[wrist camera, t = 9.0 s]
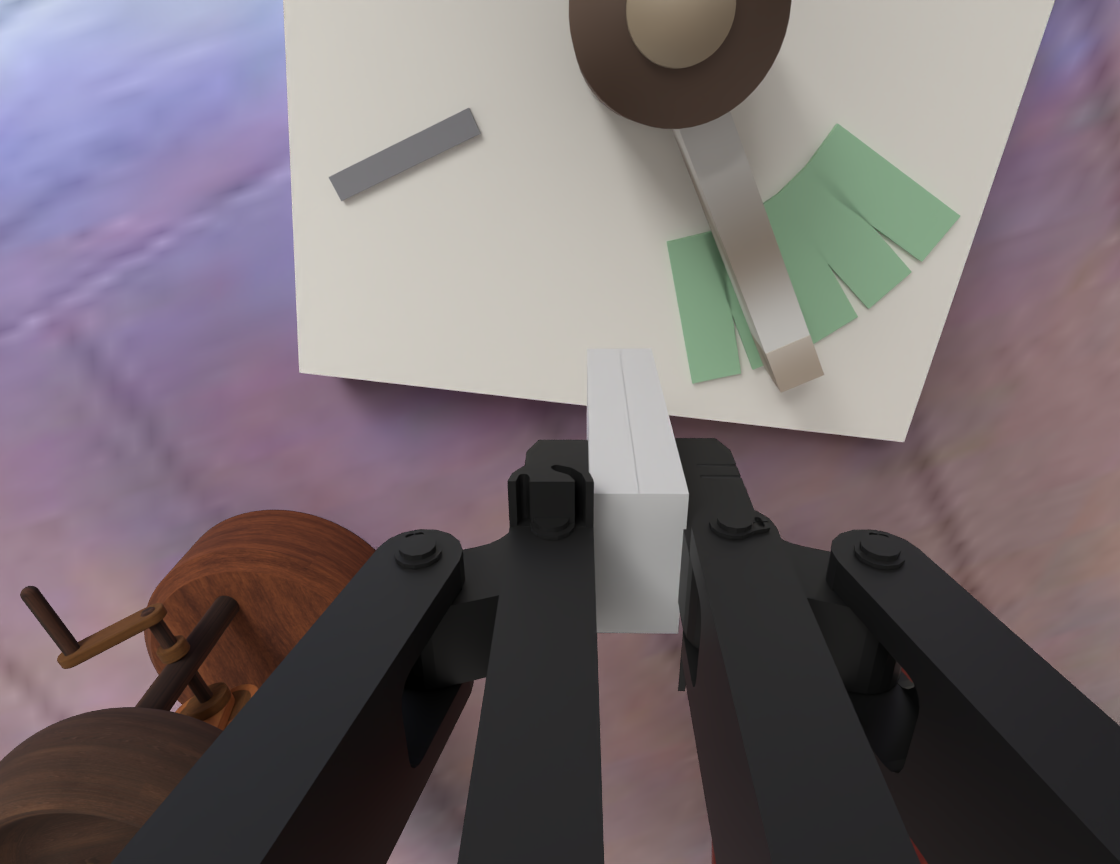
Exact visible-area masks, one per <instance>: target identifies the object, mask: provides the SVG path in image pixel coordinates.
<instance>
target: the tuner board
mask: <svg viewBox="0 0 1120 864" xmlns="http://www.w3.org/2000/svg"><path fill="white" fill-rule="evenodd" d="M1054 2H1055V0H791V9H790V18H789V22H788V26H787V31H786V35H785V37H784V40H783V43H782V46H781V49H780V51H779V53H778V55H777V57H776V59H775V61H774V63H773V65H772V67H771V68H770V70H769V72H768V73H767V75H766V76H765V78H764V79H763V80H762V82H761V83H760V84H759V85H758V87H757V88H756V89H755V90H754V91H753V92H752V93H751V94H750V95H749V96H748V97H747V98H746V99H745V100H744V101H743V102H742V103H740V104H739V105H738V106H736V107H735V108H734V109H733V110H731V111H730V112H731V115H732V118H733V121H734V123H735V126H736V129H737V132H738V135H739V137H740V140H741V143H742V146H743V149H744V151H745V154H746V157H747V160H748V163H749V165H750V168H751V171H752V174H753V177H754V180H755V182H756V185H757V188H758V191H759V194H760V196H761V199H762V202H763V205H764V208H765V210H766V213H767V216H768V219H769V222H770V224H771V227H772V230H773V233H774V236H775V238H776V241H777V244H778V247H779V250H780V252H781V255H782V258H783V261H784V264H785V267H786V269H787V272H788V275H789V278H790V281H791V283H792V286H793V289H794V292H795V295H796V297H797V300H798V303H799V306H800V309H801V311H802V314H803V317H804V320H805V323H806V325H807V328H808V331H809V334H810V336H811V339H812V342H813V344H814V347H815V350H816V353H817V356H818V358H819V361H820V364H821V367H822V370H823V372H824V375H823V376H821V377H818V378H816V379H813V380H811V381H808V382H806V383H804V384H801V385H799V386H796V387H794V388H791V389H789V390H786V391H784V392H782V393H781V392H780V391H779V389H778V388H777V386H776V385H775V383H774V382H773V380H772V379H771V377H770V376H769V374H768V373H767V371H766V370H765V368H764V366H763V363H762V360H761V358H760V355H759V353H758V350H757V348H756V345H755V343H754V340H753V337H752V335H751V332H750V329H749V327H748V324H747V322H746V319H745V316H744V314H743V311H742V309H741V306H740V304H739V301H738V298H737V296H736V293H735V291H734V288H733V286H732V283H731V280H730V278H729V275H728V273H727V270H726V268H725V265H724V263H723V260H722V257H721V255H720V252H719V250H718V247H717V245H716V242H715V239H714V237H713V234H712V232H711V229H710V227H709V224H708V221H707V219H706V216H705V214H704V211H703V209H702V206H701V203H700V201H699V198H698V196H697V193H696V191H695V188H694V185H693V183H692V180H691V178H690V175H689V173H688V170H687V167H686V165H685V162H684V160H683V157H682V155H681V152H680V149H679V147H678V144H677V142H676V139H675V137H674V134H673V131H672V129H662V128H655V127H650V126H647V125H643V124H640V123H637V122H634V121H632V120H629V119H626V118H624V117H622V116H620V115H618V114H616V113H615V112H613V111H612V110H610V109H609V108H607V107H606V106H605V105H604V104H603V103H602V102H601V101H600V100H599V99H598V98H597V97H596V96H595V95H594V94H593V92H592V91H591V89H590V88H589V86H588V85H587V83H586V81H585V79H584V77H583V75H582V73H581V71H580V68H579V65H578V63H577V59H576V55H575V51H574V47H573V43H572V38H571V34H570V25H569V0H283V6H284V29H285V53H286V76H287V99H288V122H289V145H290V168H291V191H292V215H293V238H294V261H295V284H296V307H297V330H298V353H299V373H307V374H316V375H324V376H333V377H342V378H350V379H359V380H368V381H376V382H385V383H394V384H402V385H411V386H420V387H428V388H437V389H446V390H455V391H463V392H472V393H481V394H489V395H498V396H507V397H515V398H524V399H533V400H541V401H550V402H559V403H567V404H576V405H585V406H587V349H631V348H651V349H652V353H653V357H654V361H655V364H656V368H657V372H658V376H659V380H660V384H661V388H662V391H663V395H664V399H665V403H666V407H667V411H668V415H672V416H680V417H689V418H698V419H706V420H715V421H724V422H732V423H741V424H750V425H758V426H767V427H776V428H784V429H793V430H802V431H811V432H819V433H828V434H837V435H845V436H854V437H863V438H871V439H880V440H889V441H897V442H904V441H905V438H906V435H907V432H908V429H909V426H910V423H911V420H912V418H913V415H914V412H915V409H916V406H917V403H918V400H919V397H920V394H921V391H922V388H923V385H924V382H925V379H926V377H927V374H928V371H929V368H930V365H931V362H932V359H933V356H934V353H935V350H936V347H937V344H938V341H939V339H940V336H941V333H942V330H943V327H944V324H945V321H946V318H947V315H948V312H949V309H950V306H951V303H952V300H953V298H954V295H955V292H956V289H957V286H958V283H959V280H960V277H961V274H962V271H963V268H964V265H965V262H966V259H967V257H968V254H969V251H970V248H971V245H972V242H973V239H974V236H975V233H976V230H977V227H978V224H979V221H980V219H981V216H982V213H983V210H984V207H985V204H986V201H987V198H988V195H989V192H990V189H991V186H992V183H993V180H994V178H995V175H996V172H997V169H998V166H999V163H1000V160H1001V157H1002V154H1003V151H1004V148H1005V145H1006V142H1007V139H1008V137H1009V134H1010V131H1011V128H1012V125H1013V122H1014V119H1015V116H1016V113H1017V110H1018V107H1019V104H1020V101H1021V98H1022V96H1023V93H1024V90H1025V87H1026V84H1027V81H1028V78H1029V75H1030V72H1031V69H1032V66H1033V63H1034V60H1035V58H1036V55H1037V52H1038V49H1039V46H1040V43H1041V40H1042V37H1043V34H1044V31H1045V28H1046V25H1047V22H1048V19H1049V17H1050V14H1051V11H1052V8H1053V5H1054Z"/></svg>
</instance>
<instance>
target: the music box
mask: <svg viewBox="0 0 1120 864" xmlns="http://www.w3.org/2000/svg"><path fill="white" fill-rule="evenodd" d="M374 552H375V550H374V549H373V548H372V547H371V546H370V545H369V544H367V543H366V542H365V541H364V540H362V539H361V538H360V537H358V536H357V535H355V534H354V533H352V532H350V531H349V530H347V529H345V528H343V527H341V526H339V525H337V524H335V523H333V522H331V521H328V520H326V519H323V518H320V517H317V516H313V515H310V514H305V513H301V512H295V511H287V510H262V511H254V512H249V513H244V514H241V515H237V516H234V517H232V518H229V519H227V520H225V521H223V522H221V523H219V524H217V525H216V526H214V527H212V528H211V529H210V530H208V531H207V532H206V533H205V534H204V535H203V536H202V537H201V538H200V539H199V540H198V541H197V542H196V543H195V544H194V545H193V546H192V547H191V549H190V550H189V551H188V552H187V553H186V554H185V555H184V556H183V558H182V559H181V560H180V561H179V562H178V563H177V564H176V565H175V566H174V568H173V569H172V570H171V571H170V572H169V573H168V574H167V575H166V577H165V578H164V579H163V580H162V581H161V582H160V583H159V585H158V586H157V587H156V589H155V591H154V592H153V594H152V596H151V598H150V600H149V603H148V606H147V607H146V608H144V609H142V610H140V611H138V612H136V613H134V614H132V615H130V616H128V617H126V618H124V619H122V620H120V621H119V622H117V623H115V624H113V625H111V626H109V627H107V628H105V629H103V630H101V631H99V632H97V633H95V634H93V635H91V636H89V637H87V638H85V639H83V640H81V641H79V642H77V641H76V640H75V638H74V637H73V635H72V634H71V633H70V631H69V630H68V629H67V627H66V626H65V625H64V623H63V622H62V621H61V619H60V618H59V617H58V615H57V614H56V613H55V611H54V610H53V608H52V607H51V606H50V604H49V603H48V602H47V600H46V599H45V598H44V596H43V595H42V594H41V592H40V591H39V590H38V588H36V587H34V586H28V587H25V588H24V589H23V590H22V591H21V594H20V596H21V598H22V600H23V601H24V602H25V604H26V605H27V606H28V608H29V609H30V610H31V612H32V613H33V614H34V616H35V617H36V618H37V620H38V621H39V622H40V624H41V625H42V626H43V628H44V629H45V630H46V631H47V633H48V634H49V635H50V637H51V638H52V639H53V641H54V642H55V643H56V645H57V646H58V647H59V649H60V650H61V651H62V653H61V654H60V655H59V656H58V658H57V661H58V663H59V664H60V665H61V667H62V668H64V669H68V668H72V667H74V666H76V665H78V664H80V663H82V662H84V661H86V660H88V659H90V658H92V657H94V656H96V655H98V654H100V653H102V652H103V651H105V650H107V649H109V648H111V647H113V646H115V645H117V644H119V643H121V642H123V641H125V640H127V639H129V638H131V637H132V636H134V635H136V634H138V633H140V632H142V631H144V635H145V642H146V647H147V650H148V653H149V656H150V659H151V661H152V663H153V665H154V667H155V669H156V671H157V673H158V674H159V676H158V677H157V678H156V680H155V681H154V682H153V684H152V685H151V686H150V688H149V689H148V690H147V692H146V693H145V694H144V696H143V697H142V698H141V700H140V701H139V702H138V704H137V705H136V706H135V707H123V708H110V709H102V710H97V711H91V712H87V713H83V714H80V715H76V716H73V717H70V718H67V719H64V720H62V721H59V722H57V723H55V724H53V725H50V726H48V727H46V728H45V729H43V730H41V731H39V732H37V733H36V734H34V735H32V736H31V737H29V738H28V739H26V740H25V741H23V742H22V743H21V744H20V745H18V746H17V747H16V748H14V749H13V750H12V751H11V752H10V753H9V754H8V755H7V756H5V757H4V758H3V759H2V760H1V761H0V864H111V863H112V862H113V860H114V859H115V858H116V857H117V856H118V854H119V853H120V852H121V851H122V850H123V849H124V847H125V846H126V845H127V844H128V843H129V841H130V840H131V839H132V838H133V837H134V836H135V834H136V833H137V832H138V831H139V830H140V828H141V827H142V826H143V825H144V824H145V823H146V821H147V820H148V819H149V818H150V817H151V815H152V814H153V813H154V812H155V811H156V810H157V808H158V807H159V806H160V805H161V804H162V802H163V801H164V800H165V799H166V798H167V797H168V795H169V794H170V793H171V792H172V791H173V789H174V788H175V787H176V786H177V785H178V784H179V782H180V781H181V780H182V779H183V778H184V777H185V775H186V774H187V773H188V772H189V771H190V769H191V768H192V767H193V766H194V765H195V764H196V762H197V761H198V760H199V759H200V758H201V756H202V755H203V754H204V753H205V752H206V751H207V749H208V748H209V747H210V746H211V745H212V743H213V742H214V741H215V740H216V739H217V738H218V736H219V735H220V734H221V733H222V732H223V730H224V729H225V728H226V727H227V726H228V725H229V723H230V722H231V721H232V720H233V719H234V717H235V716H236V715H237V714H238V713H239V712H240V710H241V709H242V708H243V707H244V706H245V704H246V703H247V702H248V701H249V700H250V699H251V697H252V696H253V695H254V694H255V693H256V691H257V690H258V689H259V688H260V687H261V686H262V684H263V683H264V682H265V681H266V680H267V678H268V677H269V676H270V675H271V674H272V673H273V671H274V670H275V669H276V668H277V667H278V666H279V664H280V663H281V662H282V661H283V660H284V658H285V657H286V656H287V655H288V654H289V653H290V651H291V650H292V649H293V648H294V647H295V645H296V644H297V643H298V642H299V641H300V640H301V638H302V637H303V636H304V635H305V634H306V632H307V631H308V630H309V629H310V628H311V627H312V625H313V624H314V623H315V622H316V621H317V619H318V618H319V617H320V616H321V615H322V614H323V612H324V611H325V610H326V609H327V608H328V606H329V605H330V604H331V603H332V602H333V601H334V599H335V598H336V597H337V596H338V595H339V593H340V592H341V591H342V590H343V589H344V588H345V586H346V585H347V584H348V583H349V582H350V580H351V579H352V578H353V577H354V576H355V575H356V573H357V572H358V571H359V570H360V569H361V567H362V566H363V565H364V564H365V563H366V562H367V560H368V559H369V558H370V557H371V556H372V555H373V553H374ZM177 700H178V701H179V702H180V703H181V704H182V705H181V706H180V707H179V708H178V709H177V711H176V712H171V711H170V710H171V708H172V707H173V705H174V704H175V702H176V701H177Z"/></svg>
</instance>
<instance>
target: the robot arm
mask: <svg viewBox="0 0 1120 864" xmlns="http://www.w3.org/2000/svg"><path fill="white" fill-rule="evenodd" d="M508 500H509V520H510V529H509V533H508V534H506V535H505V536H504V537H502V538H501V539H499V540H497V541H494V542H492V543H490V544H486V545H483V546H479V547H475V548H470V549H465V550H462V547H461V544H460V541H459V540H457V539H456V538H455V537H454V536H452V535H451V534H449V533H445V532H442V531H439V530H424V529H420V530H414V531H408V532H404V533H401V534H399V535H397V536H394V537H392V538H390V539H388V540H387V541H386V542H385V543H383V544H382V545H381V546H380V547H378V549H377V550H376V551H375V552H374V553H373V555H372V556H371V557H370V558H369V559H368V560H367V562H366V563H365V564H364V565H363V566H362V567H361V569H360V570H359V571H358V572H357V573H356V575H355V576H354V577H353V578H352V579H351V580H350V582H349V583H348V584H347V585H346V586H345V588H344V589H343V590H342V591H341V592H340V593H339V595H338V596H337V597H336V598H335V599H334V601H333V602H332V603H331V604H330V605H329V606H328V608H327V609H326V610H325V611H324V612H323V614H322V615H321V616H320V617H319V618H318V619H317V621H316V622H315V623H314V624H313V625H312V627H311V628H310V629H309V630H308V631H307V632H306V634H305V635H304V636H303V637H302V638H301V640H300V641H299V642H298V643H297V644H296V645H295V647H294V648H293V649H292V650H291V651H290V653H289V654H288V655H287V656H286V657H285V658H284V660H283V661H282V662H281V663H280V664H279V666H278V667H277V668H276V669H275V670H274V671H273V673H272V674H271V675H270V676H269V677H268V678H267V680H266V681H265V682H264V683H263V684H262V686H261V687H260V688H259V689H258V690H257V691H256V693H255V694H254V695H253V696H252V697H251V699H250V700H249V701H248V702H247V703H246V704H245V706H244V707H243V708H242V709H241V710H240V712H239V713H238V714H237V715H236V716H235V717H234V719H233V720H232V721H231V722H230V723H229V725H228V726H227V727H226V728H225V729H224V730H223V732H222V733H221V734H220V735H219V736H218V738H217V739H216V740H215V741H214V742H213V743H212V745H211V746H210V747H209V748H208V749H207V751H206V752H205V753H204V754H203V755H202V756H201V758H200V759H199V760H198V761H197V762H196V764H195V765H194V766H193V767H192V768H191V769H190V771H189V772H188V773H187V774H186V775H185V777H184V778H183V779H182V780H181V781H180V782H179V784H178V785H177V786H176V787H175V788H174V789H173V791H172V792H171V793H170V794H169V795H168V797H167V798H166V799H165V800H164V801H163V802H162V804H161V805H160V806H159V807H158V808H157V810H156V811H155V812H154V813H153V814H152V815H151V817H150V818H149V819H148V820H147V821H146V823H145V824H144V825H143V826H142V827H141V828H140V830H139V831H138V832H137V833H136V834H135V836H134V837H133V838H132V839H131V840H130V841H129V843H128V844H127V845H126V846H125V847H124V849H123V850H122V851H121V852H120V853H119V854H118V856H117V857H116V858H115V859H114V860H113V862H112V863H111V864H386V863H387V861H388V859H389V857H390V855H391V853H392V851H393V849H394V847H395V845H396V843H397V841H398V839H399V837H400V835H401V833H402V831H403V829H404V827H405V825H406V823H407V821H408V819H409V817H410V815H411V813H412V811H413V809H414V807H415V805H416V803H417V801H418V799H419V797H420V795H421V793H422V791H423V789H424V787H425V785H426V783H427V781H428V779H429V777H430V775H431V773H432V771H433V768H434V766H435V764H436V762H437V760H438V758H439V756H440V754H441V752H442V750H443V748H444V746H445V744H446V742H447V740H448V738H449V736H450V734H451V732H452V730H453V728H454V726H455V724H456V722H457V720H458V718H459V716H460V714H461V712H462V710H463V708H464V706H465V704H466V702H467V700H468V698H469V696H470V694H471V691H472V687H473V683H474V680H477V679H481V678H485V677H486V684H485V690H484V696H483V703H482V709H481V716H480V722H479V729H478V735H477V742H476V748H475V754H474V761H473V767H472V774H471V780H470V787H469V793H468V800H467V806H466V812H465V819H464V825H463V832H462V838H461V845H460V851H459V858H458V864H604V844H603V812H602V780H601V749H600V717H599V685H598V654H597V633H665V634H678V628H679V616H681V621H682V626H683V638H682V650H681V662H680V675H679V687H678V691H685V688H687V694H688V700H689V706H690V711H691V717H692V723H693V729H694V735H695V741H696V747H697V753H698V759H699V765H700V771H701V777H702V783H703V789H704V795H705V800H706V806H707V812H708V818H709V824H710V830H711V836H712V842H713V848H714V854H715V860H716V864H921V863H920V861H919V858H918V856H917V854H916V851H915V849H914V847H913V844H912V842H911V840H912V841H913V843H914V844H915V845H916V847H917V848H918V850H919V851H920V853H921V854H922V856H923V857H924V858H925V860H926V861H927V863H928V864H1120V726H1119V725H1118V724H1117V723H1116V722H1114V721H1113V720H1112V719H1111V718H1110V717H1109V716H1108V715H1106V714H1105V713H1104V712H1103V711H1102V710H1101V709H1100V708H1099V707H1097V706H1096V705H1095V704H1094V703H1093V702H1092V701H1091V700H1090V699H1088V698H1087V697H1086V696H1085V695H1084V694H1083V693H1082V692H1080V691H1079V690H1078V689H1077V688H1076V687H1075V686H1074V685H1073V684H1071V683H1070V682H1069V681H1068V680H1067V679H1066V678H1065V677H1063V676H1062V675H1061V674H1060V673H1059V672H1058V671H1057V670H1056V669H1054V668H1053V667H1052V666H1051V665H1050V664H1049V663H1048V662H1046V661H1045V660H1044V659H1043V658H1042V657H1041V656H1040V655H1039V654H1037V653H1036V652H1035V651H1034V650H1033V649H1032V648H1031V647H1029V646H1028V645H1027V644H1026V643H1025V642H1024V641H1023V640H1022V639H1020V638H1019V637H1018V636H1017V635H1016V634H1015V633H1014V632H1012V631H1011V630H1010V629H1009V628H1008V627H1007V626H1006V625H1005V624H1003V623H1002V622H1001V621H1000V620H999V619H998V618H997V617H995V616H994V615H993V614H992V613H991V612H990V611H989V610H988V609H986V608H985V607H984V606H983V605H982V604H981V603H980V602H978V601H977V600H976V599H975V598H974V597H973V596H972V595H971V594H969V593H968V592H967V591H966V590H965V589H964V588H963V587H961V586H960V585H959V584H958V583H957V582H956V581H955V580H954V579H952V578H951V577H950V576H949V575H948V574H947V573H946V572H944V571H943V570H942V569H941V568H940V567H939V566H938V565H937V564H935V563H934V562H933V561H932V560H931V559H930V558H929V557H927V556H926V555H925V554H924V553H923V552H922V551H921V550H920V549H918V548H917V547H915V546H914V545H912V544H911V543H909V542H908V541H906V540H905V539H902V538H900V537H897V536H894V535H892V534H890V533H887V532H883V531H877V530H851V531H848V532H844V533H841V534H839V535H838V536H837V537H836V538H835V539H834V540H833V541H832V546H831V551H830V552H829V551H824V550H818V549H813V548H808V547H804V546H800V545H796V544H792V543H789V542H787V541H785V540H782V539H781V537H780V534H779V532H778V530H777V528H776V526H775V525H774V524H773V523H772V521H771V520H770V519H769V518H767V517H766V516H764V515H763V514H761V513H759V512H758V511H754V508H753V506H752V503H751V501H750V498H749V496H748V493H747V491H746V488H745V486H744V483H743V481H742V478H740V473H739V471H738V468H737V467H736V463H735V461H734V458H733V456H732V453H731V451H730V450H729V449H728V448H727V447H725V446H724V445H723V444H722V443H720V442H719V441H718V440H717V439H715V438H674V434H673V430H672V426H671V422H670V418H669V415H668V411H667V407H666V403H665V399H664V395H663V391H662V388H661V384H660V380H659V376H658V372H657V368H656V364H655V361H654V357H653V353H652V349H651V348H631V349H587V440H538V441H537V442H536V443H535V444H534V445H533V446H532V447H531V448H530V449H529V450H528V451H527V453H526V460H525V466H523V467H521V468H520V469H518V470H517V471H515V472H514V473H512V475H511V476H510V478H509V480H508ZM902 668H903V669H904V670H905V671H906V673H907V674H908V675H909V677H910V678H911V680H912V681H913V682H911V681H910V680H909V679H908V678H907V676H906V675H905V674H904V673H903V672H902V671H901V669H902ZM910 838H911V840H910Z"/></svg>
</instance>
